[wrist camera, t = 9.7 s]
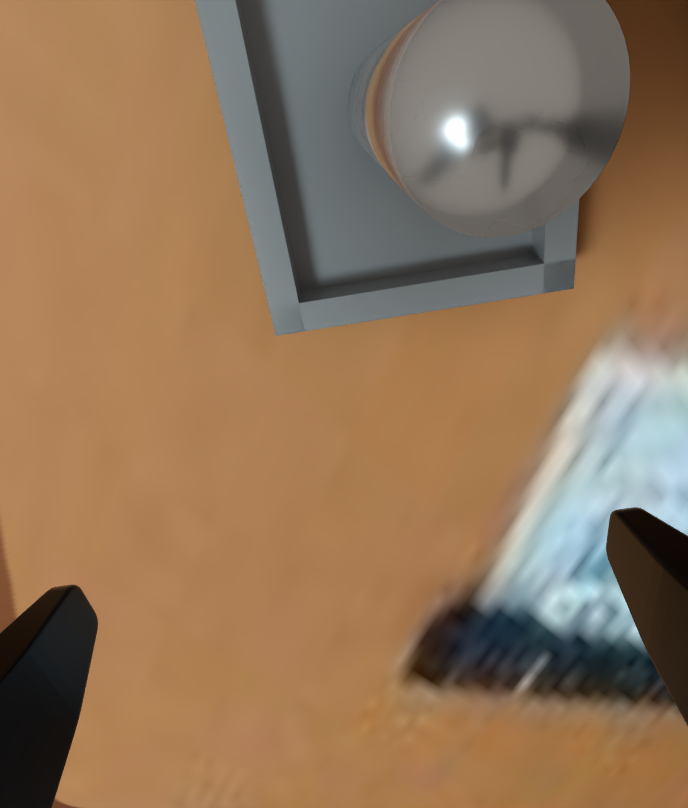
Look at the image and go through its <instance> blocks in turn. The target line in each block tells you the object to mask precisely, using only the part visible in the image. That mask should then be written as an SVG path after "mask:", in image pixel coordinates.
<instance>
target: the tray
mask: <svg viewBox="0 0 688 808" xmlns="http://www.w3.org/2000/svg"><path fill="white" fill-rule="evenodd" d="M438 1H439V0H195V3H196V7H197V11H198V15H199V19H200V23H201V27H202V32H203V36H204V40H205V44H206V48H207V52H208V57H209V61H210V65H211V69H212V73H213V77H214V81H215V86H216V90H217V94H218V98H219V102H220V106H221V110H222V115H223V119H224V123H225V127H226V131H227V135H228V140H229V144H230V148H231V152H232V156H233V160H234V164H235V169H236V173H237V177H238V181H239V185H240V189H241V193H242V198H243V202H244V206H245V210H246V214H247V218H248V223H249V227H250V231H251V235H252V239H253V243H254V247H255V252H256V256H257V260H258V264H259V268H260V272H261V276H262V281H263V285H264V289H265V293H266V297H267V301H268V306H269V310H270V314H271V318H272V322H273V326H274V330H275V335H276V336H278V335H284V334H290V333H297V332H303V331H309V330H315V329H322V328H328V327H334V326H341V325H347V324H353V323H360V322H366V321H372V320H378V319H385V318H391V317H397V316H404V315H410V314H416V313H423V312H429V311H435V310H441V309H448V308H454V307H460V306H467V305H473V304H479V303H486V302H492V301H498V300H504V299H511V298H517V297H523V296H530V295H536V294H542V293H549V292H555V291H561V290H567V289H574V275H575V259H576V244H577V228H578V213H579V200H578V201H577V202H575V203H574V204H573V205H572V206H571V207H569V208H568V209H567V210H566V211H565V212H563V213H562V214H560V215H559V216H557V217H556V218H554V219H553V220H551V221H549V222H547V223H546V224H544V225H542V226H540V227H538V228H535V229H533V230H530V231H527V232H525V233H521V234H517V235H513V236H507V237H499V238H482V237H476V236H470V235H466V234H463V233H460V232H456V231H454V230H452V229H450V228H448V227H446V226H444V225H442V224H441V223H439V222H438V221H436V220H435V219H433V218H432V217H431V216H430V215H428V214H427V213H426V212H425V211H424V210H423V209H422V208H421V207H420V206H419V205H418V204H417V203H416V202H415V201H414V200H413V199H412V198H411V197H410V196H409V195H408V194H407V193H406V192H405V191H404V190H403V189H402V188H401V187H400V186H399V185H398V184H397V183H396V182H395V181H394V180H393V179H392V178H391V177H390V176H389V175H388V174H387V172H386V171H385V170H384V169H383V168H382V167H381V166H380V165H379V164H378V163H377V162H376V161H375V160H374V159H373V158H372V157H371V156H370V155H369V154H368V153H367V152H366V151H365V150H364V149H363V148H362V147H361V145H360V144H359V143H358V141H357V140H356V138H355V136H354V134H353V132H352V129H351V126H350V123H349V118H348V109H347V104H348V93H349V89H350V85H351V82H352V79H353V77H354V75H355V73H356V71H357V69H358V67H359V66H360V65H361V63H362V62H363V61H364V59H365V58H366V57H367V56H368V55H369V54H370V53H372V52H373V51H374V50H375V49H377V48H378V47H379V46H381V45H382V44H383V43H384V42H386V41H387V40H388V39H390V38H391V37H392V36H393V35H395V34H396V33H397V32H399V31H400V30H401V29H403V28H404V27H405V26H406V25H408V24H409V23H410V22H412V21H413V20H414V19H416V18H417V17H418V16H419V15H421V14H422V13H423V12H425V11H426V10H427V9H429V8H430V7H431V6H432V5H434V4H435V3H436V2H438Z"/></svg>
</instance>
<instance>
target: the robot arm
mask: <svg viewBox="0 0 688 808" xmlns="http://www.w3.org/2000/svg"><path fill="white" fill-rule="evenodd" d="M606 551H607V556H608V560H609V562H610V565H611V567H612V569H613V572H614V574H615V577H616V579H617V581H618V584H619V586H620V589H621V591H622V593H623V596H624V598H625V601H626V603H627V605H628V608H629V610H630V613H631V615H632V617H633V620H634V622H635V625H636V627H637V629H638V632H639V634H640V636H641V639H642V641H643V643H644V645H645V648H646V650H647V652H648V654H649V656H650V658H651V659H652V661H653V663H654V665H655V667H656V669H657V671H658V672H659V674H660V676H661V678H662V680H663V682H664V683H665V685H666V687H667V689H668V691H669V693H670V694H671V696H672V698H673V700H674V702H675V703H676V705H677V707H678V709H679V711H680V713H681V714H682V716H683V718H684V720H685V722H686V724H687V725H688V536H687V535H685V534H684V533H682V532H680V531H678V530H677V529H675V528H673V527H672V526H670V525H668V524H667V523H665V522H663V521H662V520H660V519H658V518H657V517H655V516H653V515H652V514H650V513H648V512H647V511H645V510H643V509H641V508H636V507H634V508H627V509H619V510H615V511H613V512H612V513H611V515H610V520H609V528H608V536H607V543H606ZM97 628H98V620H97V616H96V613H95V611H94V610H93V608H92V606H91V605H90V603H89V601H88V600H87V598H86V596H85V595H84V593H83V591H82V590H81V589H80V587H78V586H76V585H66V586H59V587H54V588H51V589H50V590H48V591H47V592H46V593H45V594H44V595H42V596H41V597H40V598H39V599H38V600H37V601H36V602H35V603H33V604H32V605H31V606H30V607H29V608H28V609H27V610H26V611H24V612H23V613H22V614H21V615H20V616H19V617H18V618H17V619H16V620H14V621H13V622H12V623H11V624H10V625H9V626H8V627H7V628H6V629H4V630H3V631H2V632H1V633H0V808H52V805H53V802H54V799H55V796H56V792H57V789H58V786H59V783H60V779H61V776H62V773H63V770H64V766H65V763H66V760H67V757H68V753H69V750H70V747H71V744H72V740H73V737H74V734H75V730H76V727H77V723H78V720H79V716H80V711H81V707H82V703H83V698H84V693H85V688H86V683H87V678H88V673H89V668H90V663H91V659H92V654H93V649H94V644H95V639H96V634H97Z"/></svg>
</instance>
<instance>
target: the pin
mask: <svg viewBox="0 0 688 808" xmlns="http://www.w3.org/2000/svg"><path fill="white" fill-rule="evenodd" d="M629 94H630V65H629V55H628V51H627V46H626V42H625V38H624V35H623V32H622V30H621V27H620V24H619V22H618V20H617V18H616V16H615V14H614V12H613V11H612V9H611V7H610V6H609V4H608V3H607V2H606V0H439V1H438V2H436V3H435V4H434V5H432V6H431V7H430V8H429V9H427V10H426V11H425V12H423V13H422V14H421V15H419V16H418V17H417V18H416V19H414V20H413V21H412V22H410V23H409V24H408V25H406V26H405V27H404V28H403V29H401V30H400V31H399V32H397V33H396V34H395V35H393V36H392V37H391V38H390V39H388V40H387V41H386V42H384V43H383V44H382V45H381V46H379V47H378V48H377V49H375V50H374V51H373V52H372V53H370V54H369V55H368V56H367V57H366V58H365V59H364V61H363V62H362V63H361V65H360V66H359V67H358V69H357V71H356V73H355V75H354V77H353V79H352V82H351V85H350V89H349V93H348V104H347V109H348V118H349V123H350V126H351V129H352V132H353V134H354V136H355V138H356V140H357V141H358V143H359V144H360V145H361V147H362V148H363V149H364V150H365V151H366V152H367V153H368V154H369V155H370V156H371V157H372V158H373V159H374V160H375V161H376V162H377V163H378V164H379V165H380V166H381V167H382V168H383V169H384V170H385V171H386V172H387V174H388V175H389V176H390V177H391V178H392V179H393V180H394V181H395V182H396V183H397V184H398V185H399V186H400V187H401V188H402V189H403V190H404V191H405V192H406V193H407V194H408V195H409V196H410V197H411V198H412V199H413V200H414V201H415V202H416V203H417V204H418V205H419V206H420V207H421V208H422V209H423V210H424V211H425V212H426V213H427V214H428V215H430V216H431V217H432V218H433V219H435V220H436V221H438V222H439V223H441V224H442V225H444V226H446V227H448V228H450V229H452V230H454V231H456V232H460V233H463V234H466V235H470V236H476V237H482V238H499V237H507V236H513V235H517V234H521V233H525V232H527V231H530V230H533V229H535V228H538V227H540V226H542V225H544V224H546V223H547V222H549V221H551V220H553V219H554V218H556V217H557V216H559V215H560V214H562V213H563V212H565V211H566V210H567V209H568V208H569V207H571V206H572V205H573V204H574V203H575V202H577V201H578V200H579V199H580V198H581V196H582V195H583V194H584V193H585V192H586V191H587V190H588V189H589V188H590V187H591V185H592V184H593V183H594V181H595V180H596V179H597V178H598V176H599V175H600V173H601V172H602V170H603V169H604V167H605V165H606V164H607V162H608V161H609V159H610V157H611V155H612V152H613V150H614V148H615V146H616V144H617V142H618V139H619V136H620V133H621V131H622V128H623V124H624V120H625V117H626V113H627V108H628V101H629Z"/></svg>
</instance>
